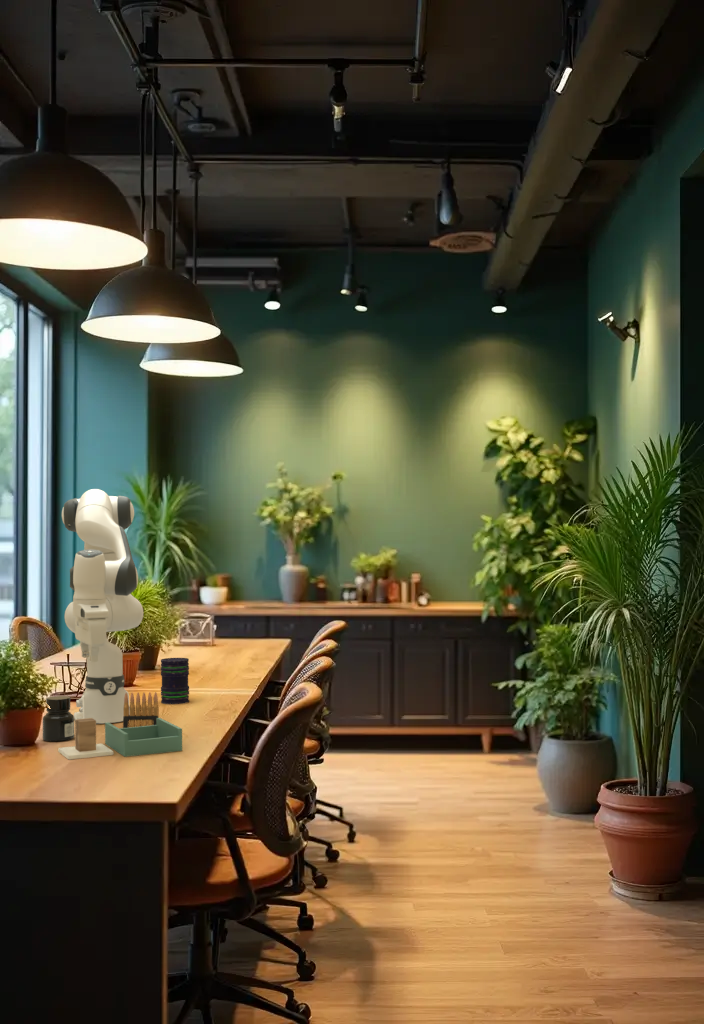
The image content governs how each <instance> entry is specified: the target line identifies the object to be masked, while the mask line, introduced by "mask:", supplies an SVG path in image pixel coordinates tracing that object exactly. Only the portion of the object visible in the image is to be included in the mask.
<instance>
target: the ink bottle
mask: <svg viewBox="0 0 704 1024" xmlns="http://www.w3.org/2000/svg"><path fill="white" fill-rule="evenodd" d="M45 702H46V703H47V704H48V705H49V706H50V708H51V709H49V708H47V709H46V713H45V714H44V716H43V717H42V740H43V741H46V742H65V741H71V740H72V739H74V738H75V719H74V714H72V712H70V710H71V697H70V696H66V695H57V696H48V697H45ZM46 703H45V704H46Z"/></svg>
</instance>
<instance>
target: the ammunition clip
mask: <svg viewBox="0 0 704 1024" xmlns="http://www.w3.org/2000/svg"><path fill="white" fill-rule="evenodd" d="M152 697H153V699H152ZM135 698H136V700H135ZM129 706H130V715H129ZM159 709H160V708H159V697H158V693H157V691H155V692H154V695H153V696H152V693H151V692H149V693H148V696H146V693H145V692H143V693H142V698H141V695H140V693H139V692H137V693H136V697H135V696H134V693H133V692H131V694H130V696H129V705H128V695H127V693H125V697H124V716H123V721H122V728H129V727H140V726H150V725H157V724H156V718H160V715H159V711H160V710H159Z"/></svg>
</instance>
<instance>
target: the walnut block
mask: <svg viewBox="0 0 704 1024" xmlns="http://www.w3.org/2000/svg"><path fill="white" fill-rule="evenodd" d="M74 738H75V739H74V741H75V744H74V745H75V749H76V750H78V751H79V752H82V751H92V750H96V744H97V723H96V720H94V719H93V718H86V719H74Z"/></svg>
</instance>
